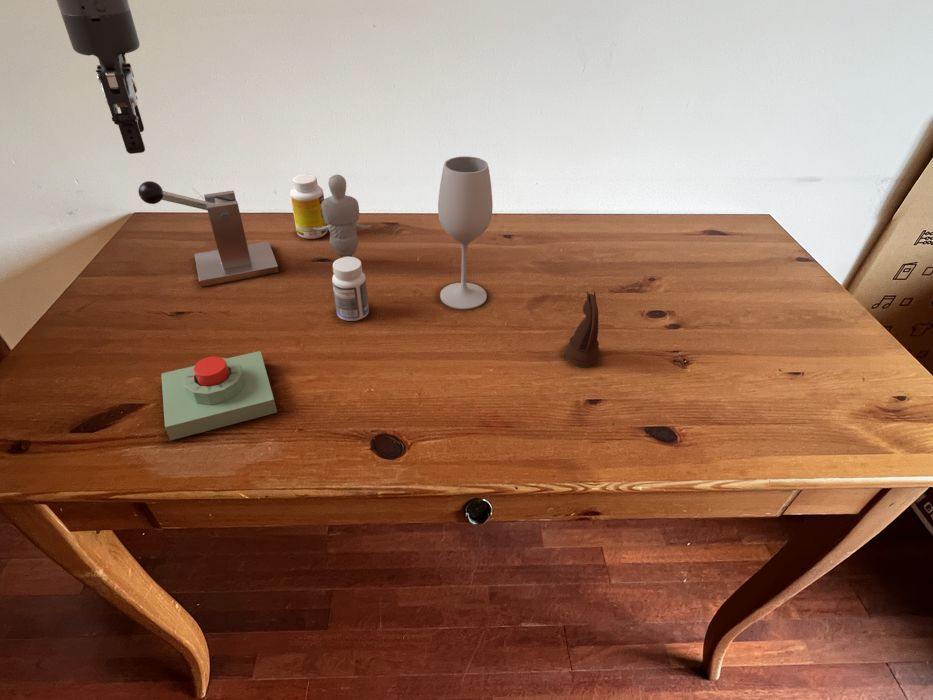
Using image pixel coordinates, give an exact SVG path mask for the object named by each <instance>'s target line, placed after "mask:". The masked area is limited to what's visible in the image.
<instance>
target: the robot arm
mask: <svg viewBox="0 0 933 700" xmlns="http://www.w3.org/2000/svg"><path fill="white" fill-rule="evenodd" d="M56 4H57V6H58V9H59V12H60V15H61V18H62V21H63V24H64V26H65V29H66V33H67V36H68V39H69V41H70V44H71V46H72V47H71V48H72V49H73V51H74V52H76V53H77V54H80V55H83V56H88V57H89V56H94V57H95V58H97V59H98V62H99V64H97V65H96V69H95V74H96V77H97V80H98V82H99V84H100V85H101V89H102V92H103V96H104V100H105V103H106V104H107V106H108V108H109V111H110V115H111V120H112V122H113V123H114V125H117V127H118V128H119V132H120V135H121V138H122V141H123V144H124V147H125V151H126V152H127V153H128V154H129V155H131V154H132V155H133V154H142V153H144V152H146V146H145V142H144V140H143V136H142V133H143V132H144V131H145V127H144V123H143V119H142V116H141V112H140V109H139V106H138V100H139V99H138V96H137V94H136V93H137V92H138V90H137V84H136V81H135V75H134V70H133V66H132V64H131V62H127V58H126V54H130V53H132V52H135V51H136V50H138V49H139V48H140V45H141V44H140V40H139V36H138V32H137V28H136V25H135V22H134V18H133V15H132V11H131V8H130V4H129V0H56ZM118 109H119V110H120V112H119V110H118Z"/></svg>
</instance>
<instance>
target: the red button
mask: <svg viewBox="0 0 933 700" xmlns="http://www.w3.org/2000/svg"><path fill="white" fill-rule="evenodd" d="M223 358H224V357H221V356H215V355H214V356H208V357H204V358H202V359H200V360H198V361H197V362H196V364H194V365H195V367H194V372H195V375H196V378H197V381H198V383H199V384H200V385H202V386H206V387H212V386H216V385H219V384H221V383H223V382H224V381H226V380H227V378H228V377H229V371H228V367H227V364H226V361H225V360H224V359H223Z"/></svg>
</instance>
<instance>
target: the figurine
mask: <svg viewBox="0 0 933 700" xmlns="http://www.w3.org/2000/svg"><path fill="white" fill-rule="evenodd" d="M327 185H328V189H329V191H330V194H331V196H328V197H326V198H324V200H323V201H322V204H321V208H322V215H323V218H324V221H325V222H326V223H327V226H324V227H321V228H312V229H313V230H315V231H326V230H328V231H329V243H328V244H329V246H330V247H331V248H332V249H333V252H334V253H335V254H336V255H337V256H338V257H339V258H342V257H353V255H354V254H356V252H357V248H358V246H359V244H360V243H359V242H360V241H359V237H358V235H357V234H358V232H357V230H368V229H370V228H372V227H373V225H372V224H368V225H364V224H358V223H357V222H358V221H359V219H360V206H359V201H358V200H357V199H356V198H355V197H353V196H350V195H346V191H347V181H346V179H345V177H344V176H342V175H341V174H333V175H331V176H330V177H329V178H328V184H327Z"/></svg>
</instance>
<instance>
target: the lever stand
mask: <svg viewBox="0 0 933 700" xmlns="http://www.w3.org/2000/svg"><path fill="white" fill-rule="evenodd" d="M203 197H204V201H207V202H211V203H214V199H215V198H218V199H222V200H226V201H230V202H225V203H218V204H211V205H206V206H207V210H206V211H207V213H208V219H209V222H210V225H211V228H212V233H213V237H214V241H215V244H216V248H217V249H214V250H210V251H208V250H207V251H203V252H197V253H194V260H195V265H196V271H197V277H198V282H199V286H200V287H201V288H203V287H209V286H215V285H219V284H224V283H229V282H235V281H240V280H246V279H251V278H256V277H261V276H267V275H273V274H278V273H280V270H279V264H278V262H277V259H276V257H275V254H274V252H273V249H272V247H271V244H270V241H269V240H266V241H262V242H255V243H249V244H248V242H247V238H246V234H245V229H244V225H243V220H242V215H241V212H240V211H241V210H240V206H239V203H238V201H237V197H236V194H235V190H227V191H220V192H212V193H207V194H203Z"/></svg>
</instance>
